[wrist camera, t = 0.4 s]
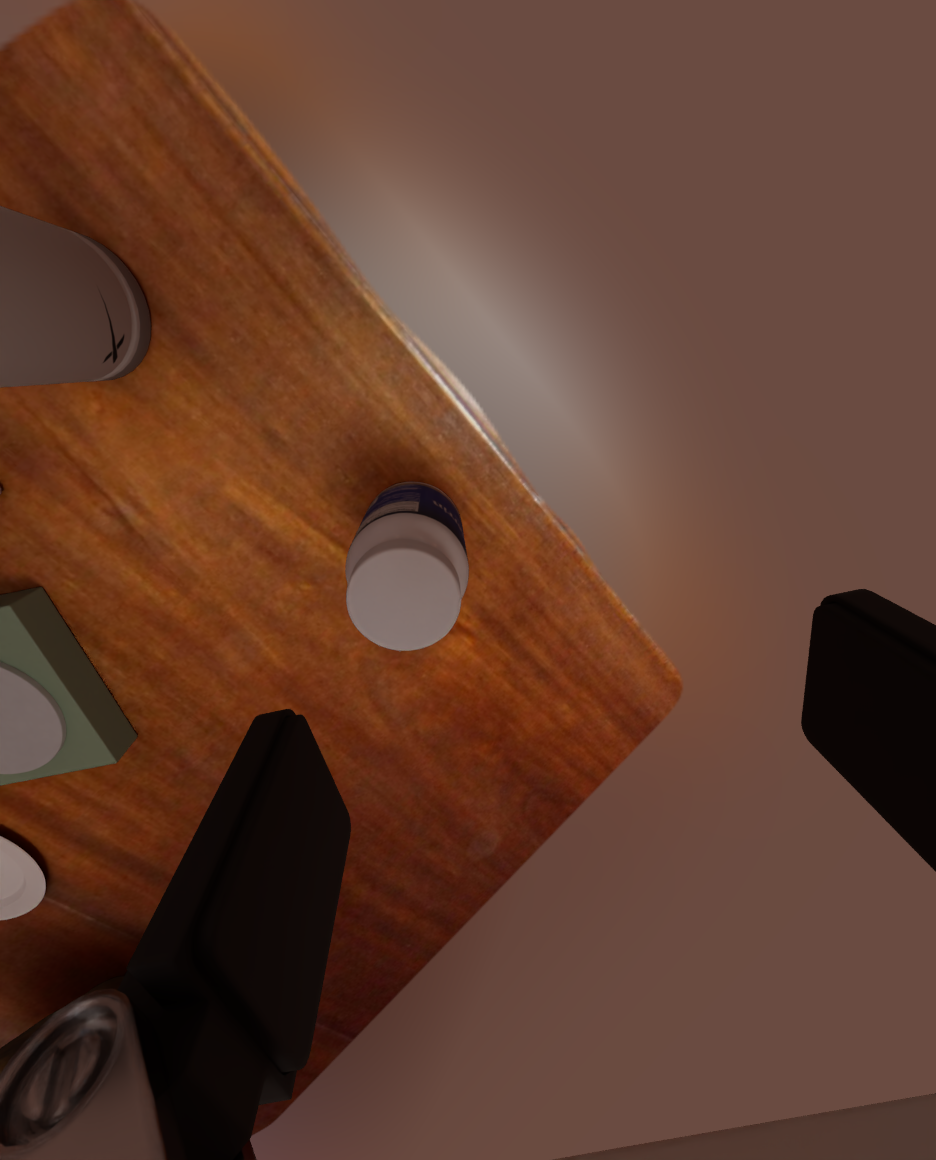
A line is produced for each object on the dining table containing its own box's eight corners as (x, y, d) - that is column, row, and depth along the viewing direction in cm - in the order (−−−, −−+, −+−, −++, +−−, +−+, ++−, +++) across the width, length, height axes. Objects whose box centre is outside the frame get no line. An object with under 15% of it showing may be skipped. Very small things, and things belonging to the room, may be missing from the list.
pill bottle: (475, 552, 29) (492, 637, 20) (389, 583, 30) (368, 680, 21) (441, 463, 27) (443, 516, 18) (348, 499, 28) (305, 567, 18)
